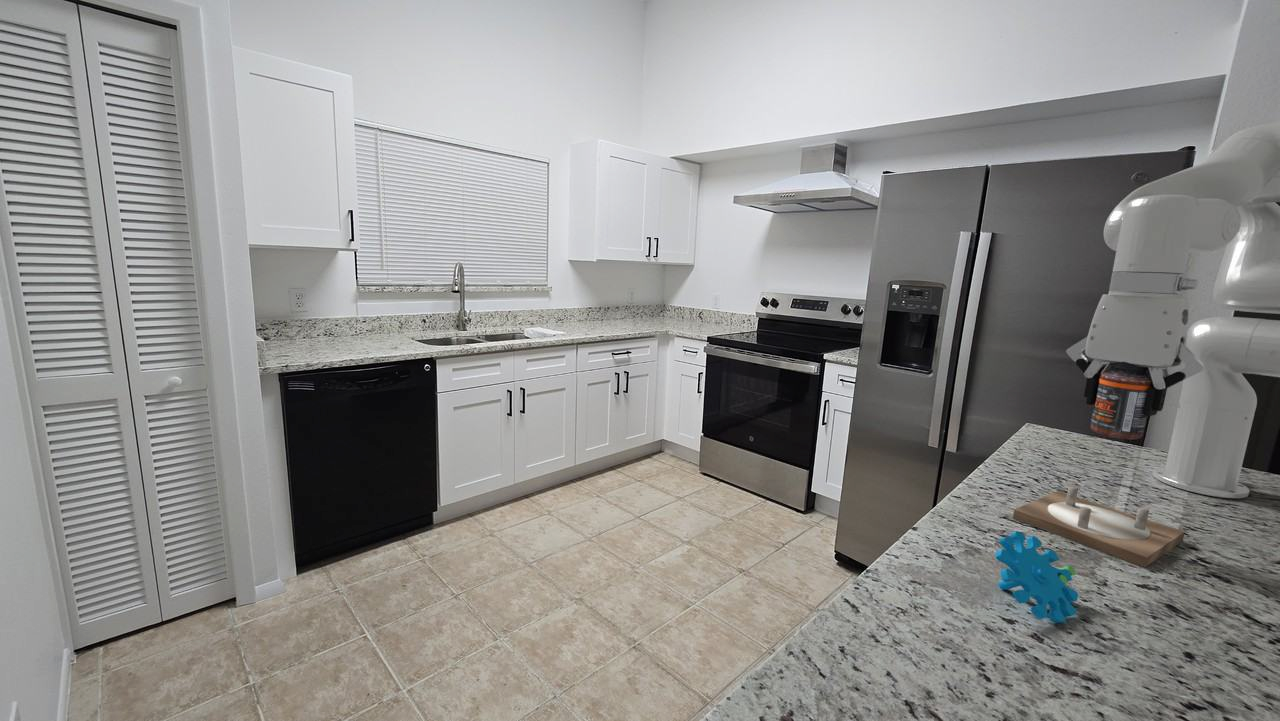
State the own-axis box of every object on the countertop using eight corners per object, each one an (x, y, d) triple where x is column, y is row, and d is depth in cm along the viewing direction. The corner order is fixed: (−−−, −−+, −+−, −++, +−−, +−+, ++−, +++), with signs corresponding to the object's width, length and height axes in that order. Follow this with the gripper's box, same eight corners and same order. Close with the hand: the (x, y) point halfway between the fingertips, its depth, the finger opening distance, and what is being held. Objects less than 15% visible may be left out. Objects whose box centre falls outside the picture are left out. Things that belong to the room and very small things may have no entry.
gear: (1033, 622, 57) (991, 528, 63) (989, 631, 62) (953, 543, 67) (1106, 619, 60) (1060, 531, 66) (1059, 629, 65) (1019, 545, 70)
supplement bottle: (1079, 428, 83) (1092, 355, 81) (1114, 428, 83) (1128, 356, 81) (1116, 440, 77) (1131, 362, 75) (1154, 441, 77) (1169, 363, 75)
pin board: (1056, 499, 93) (1060, 474, 92) (1182, 540, 79) (1189, 512, 78) (1012, 518, 85) (1017, 491, 84) (1144, 567, 71) (1151, 536, 71)
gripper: (1240, 290, 71) (1210, 421, 74) (1082, 284, 85) (1063, 394, 88) (1223, 289, 67) (1192, 428, 70) (1061, 283, 81) (1041, 398, 85)
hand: (1120, 407), depth 79 cm, fingers closed on supplement bottle, 6 cm apart
